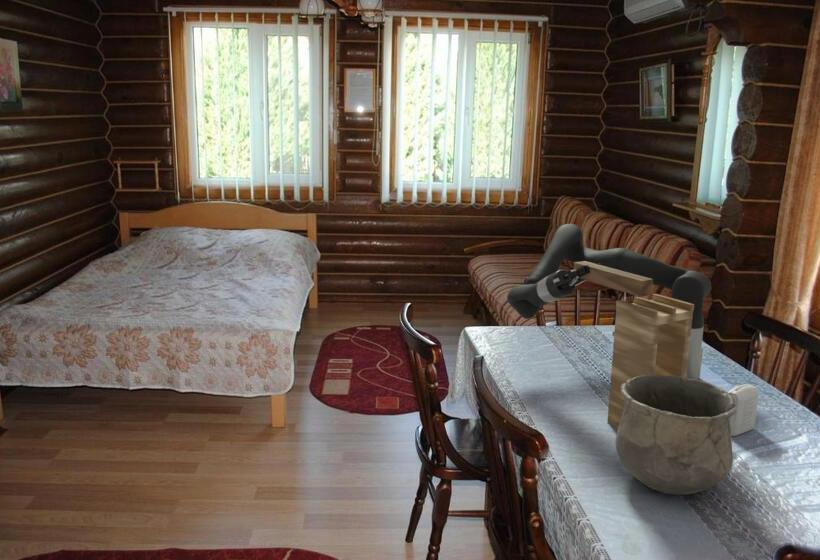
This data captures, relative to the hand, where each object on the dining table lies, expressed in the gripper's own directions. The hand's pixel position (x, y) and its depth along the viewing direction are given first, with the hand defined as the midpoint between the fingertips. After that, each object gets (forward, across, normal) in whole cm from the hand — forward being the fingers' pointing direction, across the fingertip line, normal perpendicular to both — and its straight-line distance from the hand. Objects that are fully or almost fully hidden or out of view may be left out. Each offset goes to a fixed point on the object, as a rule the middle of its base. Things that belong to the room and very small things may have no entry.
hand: (594, 267), depth 185 cm
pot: (+16, +14, -55) cm, 59 cm away
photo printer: (+8, -22, -50) cm, 56 cm away
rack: (-4, -3, -43) cm, 43 cm away
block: (+4, 0, -6) cm, 7 cm away
